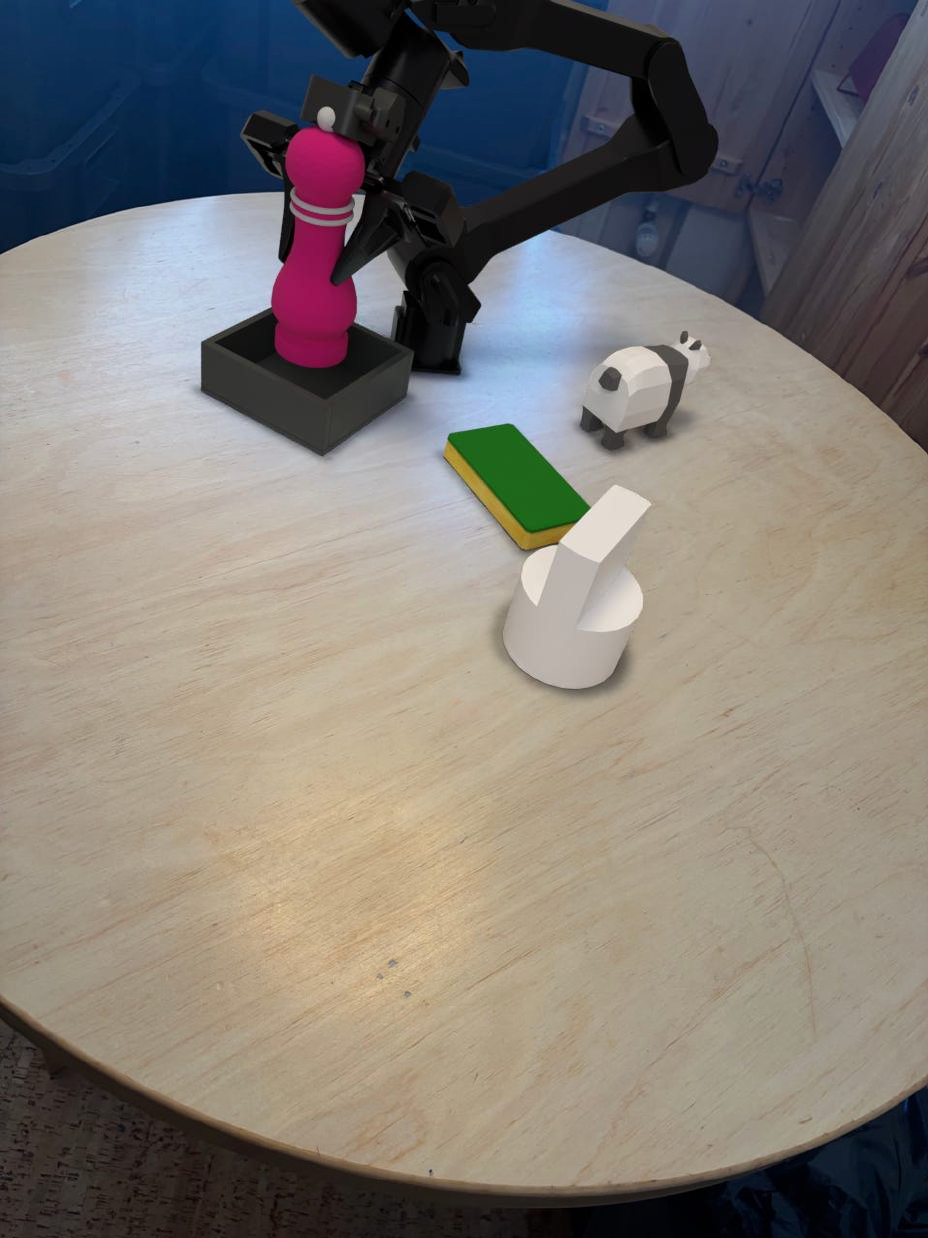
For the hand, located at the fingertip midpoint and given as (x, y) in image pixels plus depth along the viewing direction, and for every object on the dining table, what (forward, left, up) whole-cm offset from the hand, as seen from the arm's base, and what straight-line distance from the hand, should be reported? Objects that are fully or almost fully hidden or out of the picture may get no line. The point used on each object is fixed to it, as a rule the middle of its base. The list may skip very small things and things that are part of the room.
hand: (306, 272), depth 77 cm
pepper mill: (-1, -1, -8) cm, 8 cm away
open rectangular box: (-1, -3, -13) cm, 14 cm away
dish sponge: (-19, +10, -14) cm, 25 cm away
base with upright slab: (-19, +28, -14) cm, 37 cm away
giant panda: (-34, -2, -14) cm, 36 cm away
